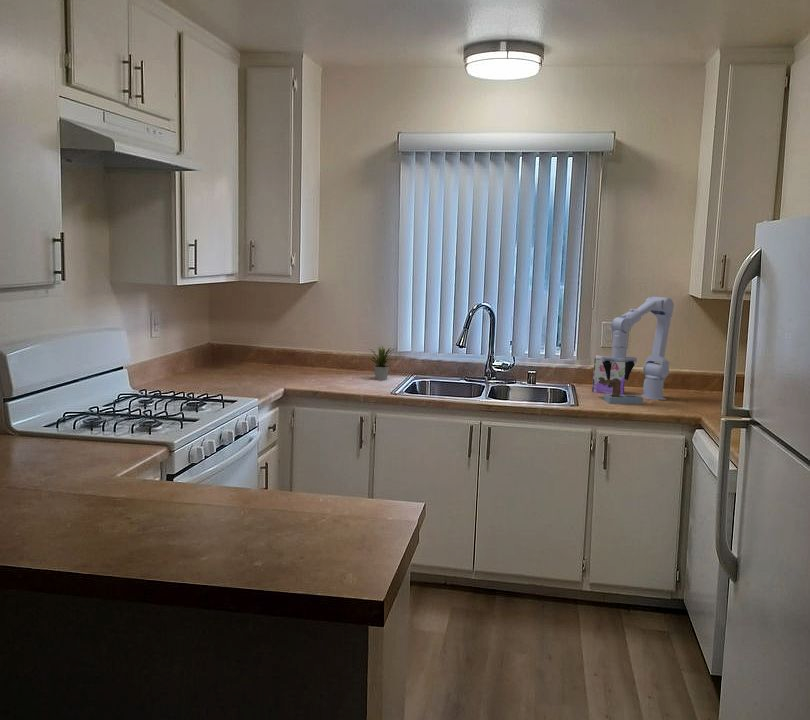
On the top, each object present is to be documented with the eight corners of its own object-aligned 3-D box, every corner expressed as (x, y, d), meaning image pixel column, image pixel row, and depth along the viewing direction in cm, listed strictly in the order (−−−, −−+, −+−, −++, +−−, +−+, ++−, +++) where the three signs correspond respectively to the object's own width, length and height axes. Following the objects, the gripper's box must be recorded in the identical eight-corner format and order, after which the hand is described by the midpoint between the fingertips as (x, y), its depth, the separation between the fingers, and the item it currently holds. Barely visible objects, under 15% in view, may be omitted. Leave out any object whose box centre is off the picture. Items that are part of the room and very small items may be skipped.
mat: (597, 397, 347) (598, 396, 347) (620, 398, 348) (620, 397, 348) (603, 401, 339) (603, 400, 339) (626, 401, 340) (627, 400, 340)
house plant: (405, 380, 372) (406, 345, 370) (381, 383, 364) (382, 347, 361) (385, 376, 383) (386, 342, 381) (362, 378, 374) (363, 343, 372)
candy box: (591, 393, 358) (594, 356, 356) (592, 391, 364) (595, 354, 361) (623, 395, 354) (626, 358, 352) (624, 393, 360) (627, 357, 357)
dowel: (610, 402, 337) (612, 381, 336) (617, 402, 337) (619, 381, 336) (613, 403, 334) (614, 382, 333) (620, 403, 334) (621, 382, 333)
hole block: (604, 401, 339) (604, 394, 338) (636, 402, 340) (637, 395, 339) (609, 404, 332) (609, 397, 332) (642, 405, 333) (643, 398, 333)
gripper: (605, 347, 328) (603, 380, 330) (640, 348, 329) (637, 381, 331) (600, 345, 335) (597, 377, 337) (634, 346, 336) (631, 378, 338)
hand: (617, 379), depth 334 cm, fingers open, 7 cm apart
